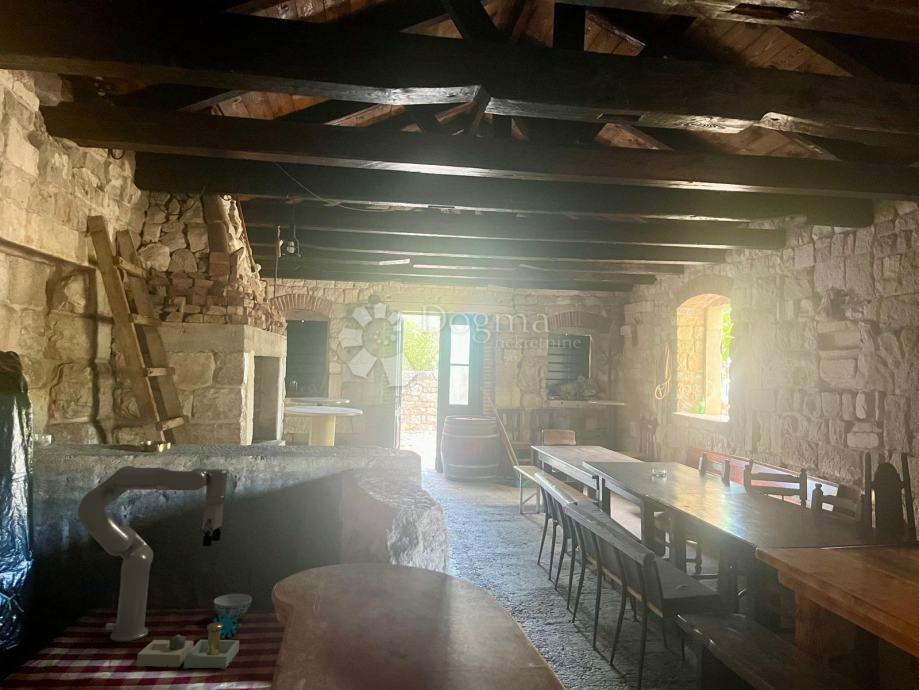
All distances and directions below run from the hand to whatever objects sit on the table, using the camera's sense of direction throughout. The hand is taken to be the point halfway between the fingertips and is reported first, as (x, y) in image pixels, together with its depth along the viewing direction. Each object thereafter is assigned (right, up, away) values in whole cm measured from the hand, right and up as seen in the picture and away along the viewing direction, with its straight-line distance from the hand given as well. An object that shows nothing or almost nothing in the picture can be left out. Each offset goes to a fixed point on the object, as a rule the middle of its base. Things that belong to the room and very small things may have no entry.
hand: (211, 543), depth 234 cm
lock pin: (+13, -30, -30) cm, 45 cm away
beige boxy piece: (-3, -30, -32) cm, 44 cm away
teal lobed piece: (+9, -33, -10) cm, 36 cm away
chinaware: (+5, -35, +9) cm, 36 cm away
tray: (+13, -31, -31) cm, 45 cm away
